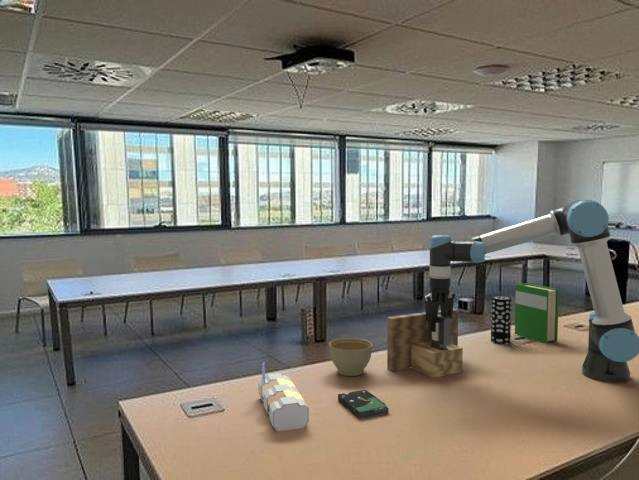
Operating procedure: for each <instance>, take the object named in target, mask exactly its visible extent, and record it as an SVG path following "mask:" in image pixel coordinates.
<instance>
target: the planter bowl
mask: <svg viewBox="0 0 639 480" xmlns="http://www.w3.org/2000/svg"><path fill="white" fill-rule="evenodd" d="M328 348H329V354H330V359H331V361H332V363H333V365H334V366H335V368H336V369H337V372H338V374H339V375H342V376H348V377H357V376H360V375H363V374H364V370H365V369H366V368H367V366H368V364H369V363H370V361H371V357H372V351H373V349H372V348H373V343H372V342H371V341H369V340H366V339H362V338H354V337H353V338H352V337H351V338H349V337H347V338H339V339H332V340H331V341H329V343H328Z"/></svg>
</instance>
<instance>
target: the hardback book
mask: <svg viewBox="0 0 639 480" xmlns="http://www.w3.org/2000/svg"><path fill="white" fill-rule="evenodd" d="M559 295H560V289H559V288H555V287H550V286H543V285H538V284H534V283H533V284H532V283H528V282H526V283H517V284H515V305H514V306H515V309H514V310H515V312H514V313H515V314H514V335H516V334H517V335H516V336H519V335H520V336H519V337H522V336H523V337H522V338H525V337H526V339H528V338H529V339H528V340H531V341H535V342H538V343H542V344H545V345H547V344H548V342H554V343H558V338H559V337H558V333H559V301H560V300H559V299H560V296H559Z"/></svg>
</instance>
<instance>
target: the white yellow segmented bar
mask: <svg viewBox="0 0 639 480" xmlns="http://www.w3.org/2000/svg"><path fill="white" fill-rule="evenodd" d="M265 364H266V362H264V361H263V362H262V364H261V368H262V369H261V370H262V371H261V378H259V380H258V395H259V397H260V400H261V401H262V402H263V407H264V409H265V411H266V413H267V415H269V420H270V423H271V425H272V428H273V429H275V431H276V432H284V431H291V430H298V429H304V428H306V426H307V425H308V424H309V422H310V416H309V415H310V411H309V410H310V408H309V406H308V404H307V403H306V401H305V400H304V398H303V397H302V395H301V393H300V392H299V391H298V389H297V387H296V386H295V384H294V383H293V381H292V379H291V378H290V377H289V376H288V375H285V374H284V375H282V374H281V372H279V373H278V372H277V373H269V374H267V375H266V368H265V367H266V366H265ZM271 381H277V383H278V384H274V385H273V386H272V387H270V388H267V389H265V390H264V391H263V386H264V385H268V384H270V383H271ZM282 392H283V393H284V395H285V396H282V397H279V398H278V399H277V400H274V401H272V402H271V403H270V404H269V398H270V397H272V396H273V397H274V396H276V394H277V393H282Z"/></svg>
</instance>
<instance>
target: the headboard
mask: <svg viewBox="0 0 639 480" xmlns="http://www.w3.org/2000/svg"><path fill="white" fill-rule="evenodd" d="M438 314H440V315H441V309H440V310H439V309H438ZM386 323H387V326H386V327H387V328H386V329H387V331H386V332H387V336H386V337H387V341H386V343H387V345H386V348H387V349H386V350H387V352H386V354H387V357H386V358H387V359H386V361H387V362H386V364H387V366H386V367H387V370H388V369H389V370H388V371H390V372H396V370H397V371H401V370H406V369H413V370H415V371H418V372H419V373H422V374H424V375H426V376H427V377H430V378H431V379H434V378H440V377H444V376H449V375H453V374H458V373H463V362H464V361H463V360H464V359H463V355H464V354H463V353H464V351H463V349H464V348H463V347H460V346H458V345H459V343H458V342H459V341H458V340H459V309H456V308H453V314H452V319H451V328H450V345H446V349H445V350H439V349H436V348H434V347H431V340H428V321H426V311H424V312H417V313H409V314H400V315H394V316H388V317H387V322H386Z"/></svg>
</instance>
